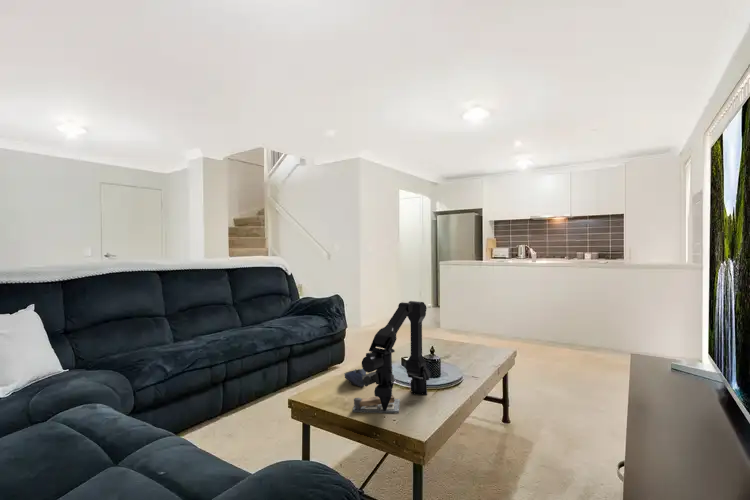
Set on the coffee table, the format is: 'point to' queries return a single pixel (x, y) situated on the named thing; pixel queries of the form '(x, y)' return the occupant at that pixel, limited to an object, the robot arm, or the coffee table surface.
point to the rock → (355, 377)
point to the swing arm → (369, 401)
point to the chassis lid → (379, 410)
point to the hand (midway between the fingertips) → (385, 406)
